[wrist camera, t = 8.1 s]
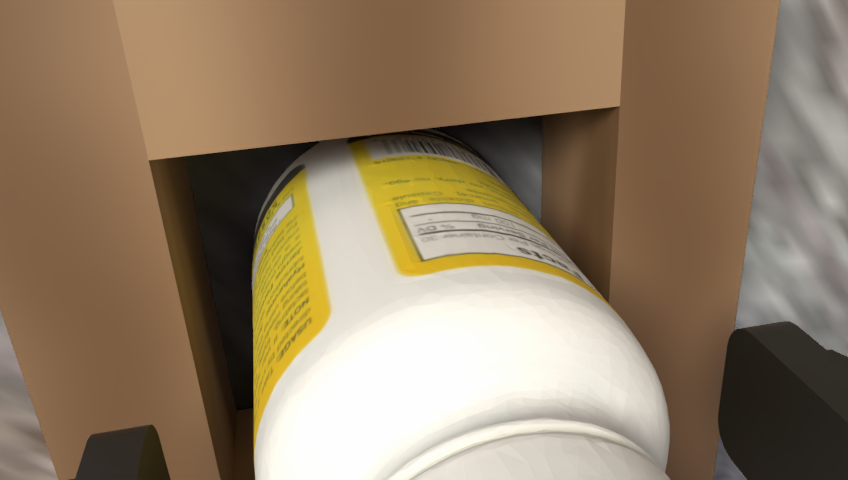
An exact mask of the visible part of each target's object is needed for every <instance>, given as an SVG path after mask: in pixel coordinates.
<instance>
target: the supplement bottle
mask: <svg viewBox="0 0 848 480" xmlns="http://www.w3.org/2000/svg"><path fill="white" fill-rule="evenodd" d="M252 294H253V367H254V379H253V390H254V469H255V480H670V478H669V477H668V476H667V475H666V474H665V470H666V465H667V459H668V451H669V442H670V423H669V416H668V408H667V403H666V399H665V396H664V392H663V388H662V385H661V383H660V380H659V378H658V375H657V373H656V370H655V369H654V367H653V365H652V363H651V362H650V360H649V358H648V356H647V355H646V353H645V351H644V350H643V348H642V346H641V345H640V343H639V342H638V340H637V339H636V337H635V336H634V335H633V333H632V332H631V330H630V329H629V328H628V326H627V325H626V324H625V322H624V321H623V320H622V318H621V317H620V316H619V315H618V314H617V312H616V311H615V310H614V309H613V308H612V306H611V305H610V304H609V303H608V302H607V301H606V300H605V299H604V298H603V297H602V295H601V294H600V293H599V292H598V291H597V290H596V288H595V287H594V286H593V285H592V284H591V283H590V281H589V280H588V279H587V278H586V277H585V276H584V274H583V273H582V272H581V271H580V270H579V268H578V267H577V266H576V265H575V264H574V263H573V262H572V261H571V259H570V258H569V257H568V256H567V255H566V253H565V252H564V251H563V250H562V249H561V247H560V246H559V245H558V244H557V242H556V241H555V240H554V239H553V238H552V237H551V236H550V234H549V233H548V232H547V231H546V230H545V229H544V228H543V226H542V225H541V224H540V223H539V222H538V221H537V219H536V218H535V217H534V216H533V215H532V213H531V212H530V211H529V210H528V209H527V207H526V206H525V205H524V204H523V203H522V202H521V201H520V200H519V198H518V197H517V196H516V195H515V194H514V192H513V191H512V190H511V189H510V188H509V187H508V186H507V184H506V183H505V182H504V181H503V180H502V179H501V178H500V177H499V176H498V175H497V173H496V172H495V171H494V170H493V169H492V168H491V166H490V165H489V164H488V163H487V162H486V161H485V160H484V159H483V158H482V157H480V156H479V155H478V154H477V153H475V152H474V151H473V150H472V149H470V148H469V147H468V146H466V145H465V144H463V143H462V142H460V141H458V140H457V139H455V138H453V137H451V136H449V135H447V134H444V133H442V132H440V131H437V130H434V129H430V128H426V129H417V130H409V131H400V132H391V133H382V134H374V135H365V136H356V137H348V138H339V139H330V140H323V141H321V142H320V143H318V144H316V145H315V146H313V147H312V148H310V149H309V150H308V151H306V152H305V153H303V154H302V155H301V156H300V157H298V158H297V159H296V160H295V161H294V162H293V163H292V164H291V165H290V166H289V167H288V168H287V169H286V170H285V171H284V172H283V174H282V175H281V176H280V177H279V179H278V180H277V181H276V183H275V184H274V186H273V187H272V189H271V191H270V192H269V194H268V196H267V198H266V200H265V202H264V204H263V206H262V208H261V211H260V214H259V216H258V220H257V224H256V228H255V234H254V242H253V252H252Z"/></svg>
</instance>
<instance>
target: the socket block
mask: <svg viewBox="0 0 848 480" xmlns="http://www.w3.org/2000/svg"><path fill="white" fill-rule="evenodd" d="M779 4H780V0H0V310H1V313H2V316H3V319H4V322H5V325H6V328H7V331H8V334H9V337H10V340H11V342H12V345H13V348H14V351H15V354H16V357H17V360H18V363H19V366H20V369H21V371H22V374H23V377H24V380H25V383H26V386H27V389H28V392H29V395H30V398H31V401H32V403H33V406H34V409H35V412H36V415H37V418H38V421H39V424H40V427H41V430H42V432H43V435H44V438H45V441H46V444H47V447H48V450H49V453H50V456H51V459H52V462H53V464H54V467H55V470H56V473H57V476H58V479H59V480H69V479H75V477H76V474H77V471H78V468H79V465H80V461H81V458H82V455H83V452H84V449H85V446H86V443H87V440H88V438H89V437H90V436H91V435H92V434H96V433H102V432H109V431H115V430H121V429H127V428H133V427H139V426H145V425H151V424H152V425H153V426H154V427H155V428H156V430H157V433H158V435H159V439H160V442H161V446H162V450H163V453H164V457H165V461H166V464H167V468H168V472H169V476H170V479H171V480H255V469H254V408H249V409H243V410H237V411H236V406H235V401H234V396H233V391H232V386H231V381H230V377H229V372H228V367H227V362H226V357H225V352H224V347H223V342H222V337H221V332H220V327H219V322H218V317H217V312H216V307H215V302H214V298H213V293H212V288H211V283H210V278H209V273H208V268H207V263H206V258H205V253H204V248H203V243H202V238H201V233H200V228H199V224H198V219H197V214H196V209H195V204H194V199H193V194H192V189H191V184H190V179H189V174H188V169H187V164H186V159H185V156H191V155H200V154H208V153H217V152H226V151H234V150H243V149H252V148H261V147H269V146H278V145H287V144H295V143H304V142H313V141H321V140H330V139H339V138H348V137H356V136H365V135H374V134H382V133H391V132H400V131H409V130H417V129H426V128H435V127H443V126H452V125H461V124H469V123H478V122H487V121H496V120H504V119H513V118H522V117H530V116H539V115H543V133H542V226H543V228H544V229H545V230H546V231H547V232H548V233H549V234H550V236H551V237H552V238H553V239H554V240H555V241H556V242H557V244H558V245H559V246H560V247H561V249H562V250H563V251H564V252H565V253H566V255H567V256H568V257H569V258H570V259H571V261H572V262H573V263H574V264H575V265H576V266H577V267H578V268H579V270H580V271H581V272H582V273H583V274H584V276H585V277H586V278H587V279H588V280H589V281H590V283H591V284H592V285H593V286H594V287H595V288H596V290H597V291H598V292H599V293H600V294H601V295H602V297H603V298H604V299H605V300H606V301H607V302H608V303H609V304H610V305H611V306H612V308H613V309H614V310H615V311H616V312H617V314H618V315H619V316H620V317H621V318H622V320H623V321H624V322H625V324H626V325H627V326H628V328H629V329H630V330H631V332H632V333H633V335H634V336H635V337H636V339H637V340H638V342H639V343H640V345H641V346H642V348H643V350H644V351H645V353H646V355H647V356H648V358H649V360H650V362H651V363H652V365H653V367H654V369H655V370H656V373H657V375H658V378H659V380H660V383H661V385H662V388H663V392H664V396H665V399H666V403H667V408H668V416H669V423H670V442H669V451H668V459H667V465H666V470H665V474H666V475H667V476H668V477H669V478H670V480H713V478H714V471H715V464H716V456H717V449H718V442H719V435H720V432H719V426H718V411H719V404H720V396H721V389H722V381H723V374H724V366H725V359H726V351H727V345H728V340H729V337H730V335H731V334H732V333H733V332H734V327H735V320H736V313H737V306H738V299H739V291H740V284H741V277H742V270H743V263H744V256H745V248H746V241H747V234H748V227H749V220H750V212H751V205H752V198H753V191H754V184H755V177H756V169H757V162H758V155H759V148H760V141H761V133H762V126H763V119H764V112H765V105H766V98H767V90H768V83H769V76H770V69H771V62H772V55H773V47H774V40H775V33H776V26H777V19H778V11H779Z"/></svg>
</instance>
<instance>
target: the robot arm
mask: <svg viewBox="0 0 848 480" xmlns="http://www.w3.org/2000/svg"><path fill="white" fill-rule="evenodd" d="M718 426H719V432H720V436H721V440H722V442H723V445H724V448H725V450H726V452H727V453H728V455H729V457H730V458H731V460H732V461H733V462H734V464H735V465H736V466H737V467H738V469H739V470H740V471H741V472H742V473H743V475H744V476H745V477H746V478H747V480H848V357H846V356H844V355H842V354H840V353H837V352H835V351H833V350H826V349H825V348H823V347H822V346H821V345H820V344H818V343H817V342H816V341H815V340H814V339H812V338H811V337H810V336H809V335H808V334H806V333H805V332H804V331H803V330H802V329H800V328H799V327H798V326H796V325H795V324H793V323H791V322H787V321H785V322H778V323H772V324H766V325H760V326H754V327H748V328H742V329H737V330H735V331H734V332H733V333H732V334H731V335H730V337H729V340H728V345H727V351H726V359H725V366H724V374H723V381H722V389H721V396H720V404H719V411H718ZM69 480H171V479H170V476H169V472H168V468H167V464H166V461H165V457H164V453H163V450H162V446H161V442H160V439H159V435H158V433H157V430H156V428H155V427H154V426H153V425H152V424H151V425H145V426H139V427H133V428H127V429H121V430H115V431H109V432H102V433H96V434H92V435H91V436H90V437H89V438H88V440H87V443H86V446H85V449H84V452H83V455H82V458H81V461H80V465H79V468H78V471H77V474H76V477H75V479H69Z"/></svg>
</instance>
